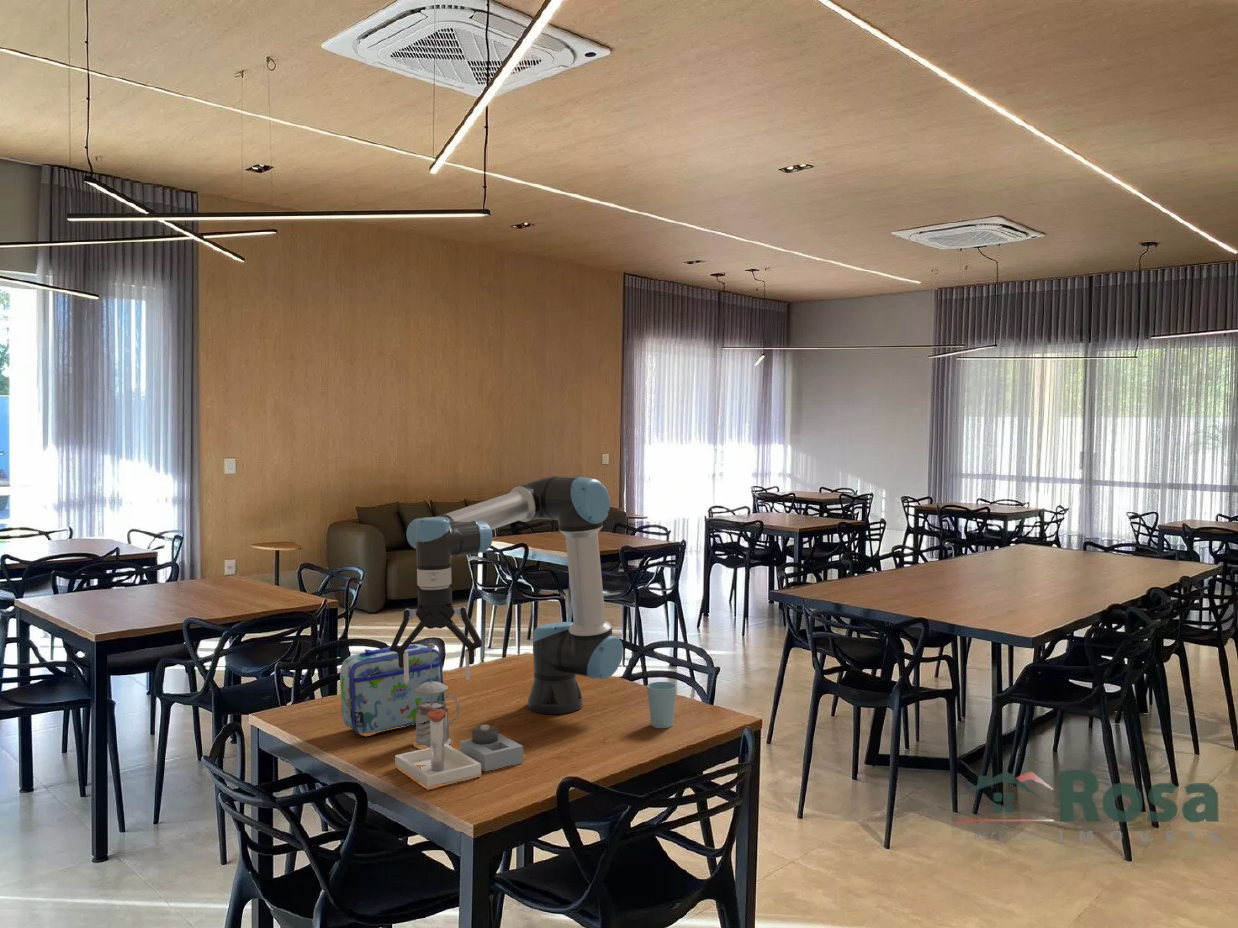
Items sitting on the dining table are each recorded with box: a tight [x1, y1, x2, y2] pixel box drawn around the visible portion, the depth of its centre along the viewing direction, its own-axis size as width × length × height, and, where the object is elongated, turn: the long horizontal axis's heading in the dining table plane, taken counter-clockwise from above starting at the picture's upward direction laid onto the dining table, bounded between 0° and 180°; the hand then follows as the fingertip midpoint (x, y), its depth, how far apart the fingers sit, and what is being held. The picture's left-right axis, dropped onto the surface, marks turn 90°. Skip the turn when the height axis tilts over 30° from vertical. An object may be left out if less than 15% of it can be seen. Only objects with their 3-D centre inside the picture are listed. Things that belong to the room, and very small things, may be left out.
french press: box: [415, 642, 460, 747], centre depth 236 cm, size 10×12×25 cm
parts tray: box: [394, 744, 482, 787], centre depth 217 cm, size 17×13×3 cm
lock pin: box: [428, 709, 446, 772], centre depth 217 cm, size 4×4×13 cm
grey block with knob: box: [459, 724, 524, 771], centre depth 224 cm, size 12×10×7 cm
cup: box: [646, 681, 678, 729], centre depth 250 cm, size 8×8×10 cm
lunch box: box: [339, 643, 446, 735], centre depth 250 cm, size 26×11×21 cm, turn 126°
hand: (437, 680), depth 216 cm, fingers open, 13 cm apart
